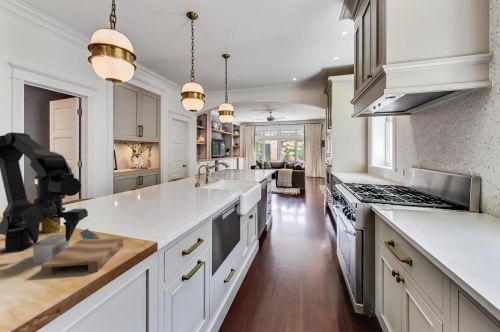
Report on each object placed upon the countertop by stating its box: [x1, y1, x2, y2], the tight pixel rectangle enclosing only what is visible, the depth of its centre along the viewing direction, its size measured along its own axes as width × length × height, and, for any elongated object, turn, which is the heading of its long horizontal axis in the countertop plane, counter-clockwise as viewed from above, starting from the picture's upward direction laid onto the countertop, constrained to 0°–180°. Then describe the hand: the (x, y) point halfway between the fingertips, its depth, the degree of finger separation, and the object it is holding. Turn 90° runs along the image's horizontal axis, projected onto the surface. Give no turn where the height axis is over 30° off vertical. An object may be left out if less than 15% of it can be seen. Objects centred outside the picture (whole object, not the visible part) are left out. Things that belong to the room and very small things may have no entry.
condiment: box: [39, 218, 63, 236], centre depth 94 cm, size 7×8×12 cm
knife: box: [79, 228, 101, 240], centre depth 89 cm, size 24×1×5 cm
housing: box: [32, 233, 70, 264], centre depth 71 cm, size 8×5×6 cm, turn 9°
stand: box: [40, 237, 124, 276], centre depth 70 cm, size 18×14×3 cm
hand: (51, 241), depth 71 cm, fingers open, 9 cm apart
